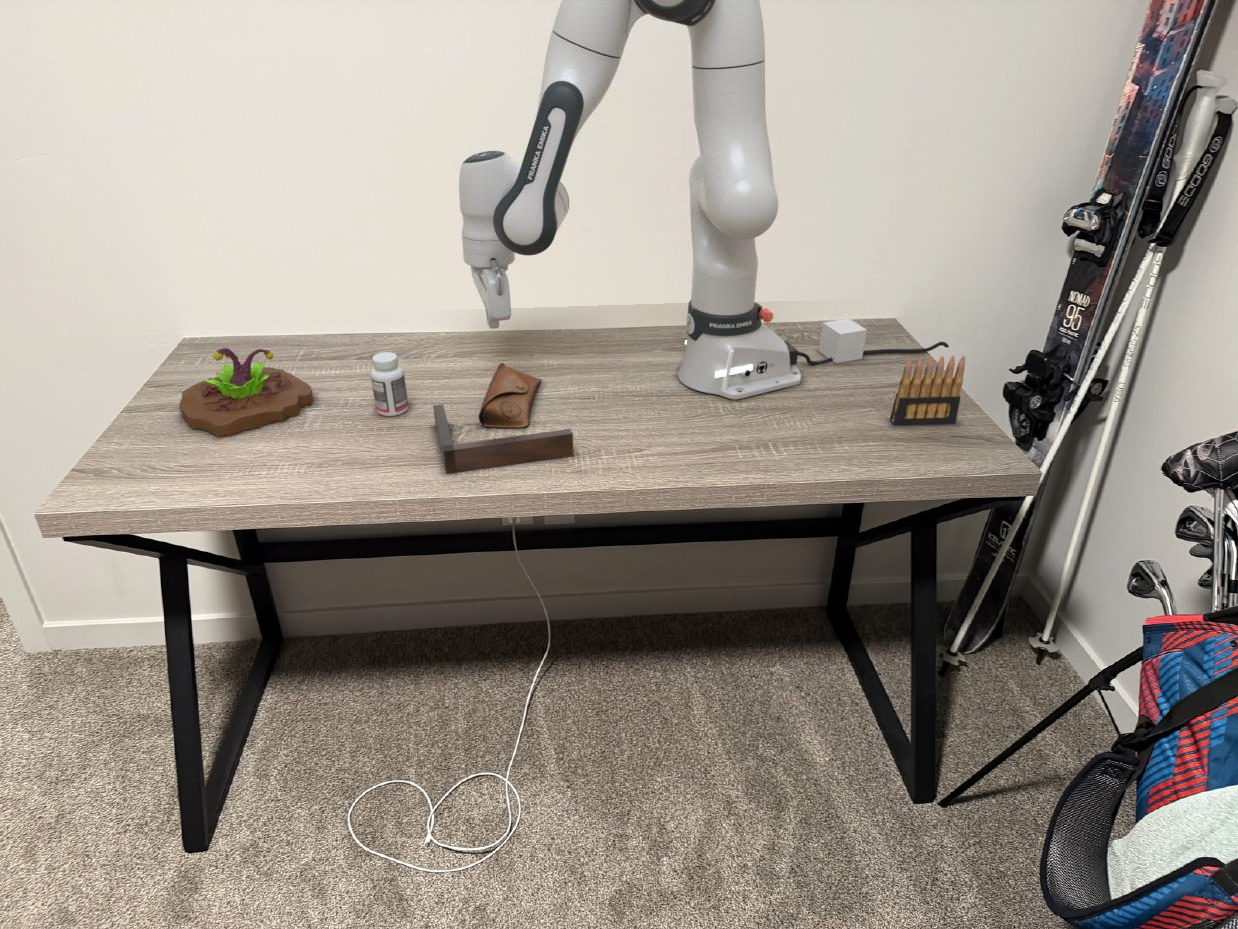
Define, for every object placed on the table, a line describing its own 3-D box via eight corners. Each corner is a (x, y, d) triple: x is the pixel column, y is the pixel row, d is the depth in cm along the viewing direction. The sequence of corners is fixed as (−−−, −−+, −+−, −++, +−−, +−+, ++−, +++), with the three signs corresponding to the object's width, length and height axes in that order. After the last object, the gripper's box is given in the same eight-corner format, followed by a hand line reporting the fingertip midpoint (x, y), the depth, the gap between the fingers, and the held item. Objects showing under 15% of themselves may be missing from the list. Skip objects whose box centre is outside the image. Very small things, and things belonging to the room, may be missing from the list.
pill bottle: (406, 400, 148) (399, 348, 143) (410, 414, 144) (403, 361, 138) (374, 405, 146) (366, 352, 141) (378, 419, 142) (369, 365, 137)
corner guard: (552, 411, 145) (551, 390, 143) (573, 456, 132) (572, 433, 130) (435, 426, 140) (433, 405, 138) (446, 474, 128) (443, 451, 126)
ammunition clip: (951, 418, 144) (967, 353, 138) (955, 423, 142) (971, 358, 136) (889, 420, 143) (902, 354, 137) (893, 425, 142) (906, 359, 135)
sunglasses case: (530, 426, 139) (508, 394, 136) (495, 444, 141) (472, 413, 138) (543, 377, 155) (522, 348, 152) (510, 394, 157) (490, 365, 154)
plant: (162, 406, 145) (143, 345, 139) (270, 370, 157) (257, 313, 151) (216, 447, 134) (198, 383, 128) (328, 405, 146) (316, 345, 140)
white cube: (835, 363, 162) (840, 334, 159) (818, 351, 167) (822, 322, 164) (862, 358, 164) (867, 329, 161) (844, 346, 169) (848, 318, 166)
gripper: (518, 268, 139) (521, 346, 146) (497, 232, 156) (500, 304, 163) (479, 271, 138) (484, 350, 145) (462, 234, 154) (467, 306, 161)
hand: (493, 325), depth 154 cm, fingers closed
